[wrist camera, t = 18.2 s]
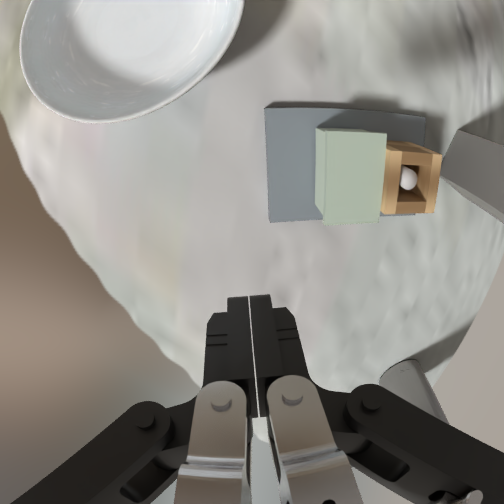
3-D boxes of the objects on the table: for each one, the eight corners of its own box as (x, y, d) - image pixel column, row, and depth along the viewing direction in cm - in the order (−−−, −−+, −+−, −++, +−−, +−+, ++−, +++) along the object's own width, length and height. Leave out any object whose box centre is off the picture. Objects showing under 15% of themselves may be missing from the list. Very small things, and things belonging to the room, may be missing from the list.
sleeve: (405, 192, 31) (433, 212, 26) (360, 192, 31) (384, 214, 25) (410, 142, 28) (442, 154, 23) (363, 138, 28) (390, 150, 22)
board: (410, 211, 33) (436, 233, 28) (268, 218, 33) (276, 245, 28) (419, 116, 27) (452, 124, 22) (264, 108, 27) (272, 111, 22)
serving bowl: (172, -80, 14) (161, -109, 8) (283, 39, 23) (298, 25, 17) (27, 35, 19) (-8, 32, 13) (117, 156, 28) (90, 174, 22)
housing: (360, 204, 31) (378, 222, 27) (311, 206, 31) (324, 225, 27) (365, 126, 27) (386, 133, 23) (312, 124, 27) (327, 131, 22)
